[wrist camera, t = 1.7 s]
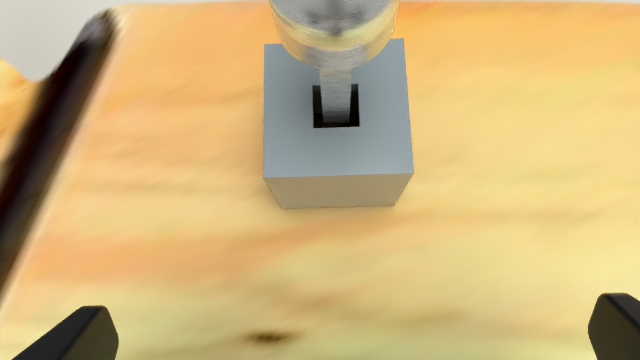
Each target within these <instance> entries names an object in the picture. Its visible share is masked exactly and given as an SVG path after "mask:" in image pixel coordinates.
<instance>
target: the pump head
mask: <svg viewBox="0 0 640 360" xmlns="http://www.w3.org/2000/svg"><path fill="white" fill-rule="evenodd" d="M399 1H400V0H269V3H270V7H271V11H272V16H273V20H274V24H275V28H276V32H277V35H278V38H279V40H280V42H281V43H282V45H283V46H284V48H285V49H286V50H287V51H288V52H289V53H290V54H291V55H292V56H293V57H294V58H296V59H297V60H298V61H300V62H302V63H304V64H306V65H308V66H311V67H313V68H317V69H319V74H320V86H321V97H322V109H323V121H324V123H339V122H349V113H350V96H351V79H352V68H354V67H357V66H360V65H362V64H364V63H366V62H368V61H369V60H371V59H372V58H374V57H375V56H376V55H377V54H379V53H380V52H381V50H382V49H383V48H384V47H385V46H386V44H387V43H388V41H389V39H390V37H391V35H392V33H393V29H394V26H395V21H396V16H397V11H398V6H399Z"/></svg>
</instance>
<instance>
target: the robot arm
mask: <svg viewBox="0 0 640 360" xmlns="http://www.w3.org/2000/svg"><path fill="white" fill-rule="evenodd" d="M588 335H589V338H590V341H591V344H592V347H593V349H594V352H595V354H596V357H597V360H640V301H639V300H637V299H636V298H634V297H632V296H631V295H629V294H626V293H604V294H601V295H600V296H599V297H598V299H597V302H596V304H595V307H594V310H593V313H592V316H591V318H590V321H589V324H588ZM118 343H119V339H118V334H117V331H116V329H115V326H114V324H113V321H112V318H111V316H110V313H109V311H108V309H107V308H106V307H105V306H102V305H99V306H83V307H80V308H79V309H77V310H76V311H75V312H73V313H72V314H71V315H69V316H68V317H67V318H65V319H64V320H63V321H62V322H60V323H59V324H58V325H56V326H55V327H54V328H52V329H51V330H50V331H48V332H47V333H46V334H45V335H43V336H42V337H41V338H39V339H38V340H37V341H35V342H34V343H33V344H31V345H30V346H29V347H27V348H26V349H25V350H24V351H22V352H21V353H20V354H18V355H17V356H16V357H14V358H13V359H12V360H115V357H116V353H117V349H118Z"/></svg>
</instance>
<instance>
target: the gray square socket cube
mask: <svg viewBox="0 0 640 360" xmlns="http://www.w3.org/2000/svg"><path fill="white" fill-rule="evenodd" d="M350 111H358V112H359V127H336V128H314V114H313V113H321V112H323V109H322V97H321V86H320V74H319V69H317V68H313V67H311V66H308V65H306V64H304V63H302V62H300V61H298V60H297V59H296V58H294V57H293V56H292V55H291V54H290V53H289V52H288V51H287V50H286V49H285V48H284V46H283V45H282V44H265V46H264V154H263V178H264V180H265V181H266V183H267V185H268V186H269V188H270V189H271V191H272V193H273V194H274V196H275V198H276V199H277V201H278V202H279V204H280V206H281V207H282V209H289V208H322V207H356V206H389V205H395V204H396V202H397V201H398V199H399V197H400V196H401V194H402V192H403V191H404V189H405V187H406V186H407V184H408V182H409V180H410V179H411V177H412V175H413V174H414V167H413V154H412V141H411V129H410V116H409V103H408V90H407V77H406V64H405V51H404V38H402V39H389V41H388V43H387V44H386V46H385V47H384V48H383V49H382V50H381V52H380V53H379V54H377V55H376V56H375V57H374V58H372V59H371V60H369V61H368V62H366V63H364V64H362V65H360V66H357V67H354V68H352V79H351V96H350Z"/></svg>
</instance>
